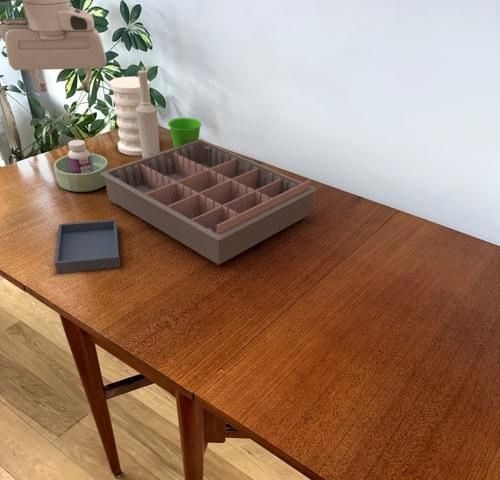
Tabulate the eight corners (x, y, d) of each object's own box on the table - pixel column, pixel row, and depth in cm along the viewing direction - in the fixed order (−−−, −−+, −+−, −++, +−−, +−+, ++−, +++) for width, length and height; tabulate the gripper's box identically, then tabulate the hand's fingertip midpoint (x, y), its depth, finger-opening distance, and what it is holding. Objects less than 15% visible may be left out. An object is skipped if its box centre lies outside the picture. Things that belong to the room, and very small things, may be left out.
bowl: (56, 195, 116) (51, 176, 112) (59, 172, 125) (55, 154, 122) (111, 191, 118) (108, 172, 115) (110, 169, 128) (107, 151, 124)
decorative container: (110, 147, 139) (99, 81, 126) (140, 137, 145) (132, 73, 133) (135, 158, 133) (126, 91, 121) (165, 148, 140) (159, 82, 128)
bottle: (157, 178, 125) (146, 75, 108) (140, 174, 126) (127, 72, 109) (165, 170, 129) (157, 70, 112) (149, 167, 130) (137, 67, 113)
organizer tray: (201, 167, 131) (200, 131, 124) (313, 219, 112) (319, 180, 105) (105, 204, 114) (97, 164, 107) (218, 273, 94) (218, 230, 88)
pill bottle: (87, 186, 119) (79, 148, 112) (69, 182, 120) (60, 144, 113) (99, 177, 123) (92, 140, 116) (81, 173, 124) (74, 137, 117)
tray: (57, 273, 92) (54, 263, 91) (61, 233, 103) (58, 223, 101) (120, 267, 95) (118, 257, 93) (117, 229, 105) (116, 219, 104)
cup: (207, 159, 135) (206, 120, 128) (195, 171, 129) (194, 131, 121) (178, 154, 137) (175, 115, 129) (165, 166, 131) (162, 126, 123)
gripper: (-8, 21, 92) (14, 96, 101) (99, 20, 96) (110, 92, 105) (-3, 15, 96) (18, 87, 106) (99, 14, 100) (110, 84, 110)
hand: (65, 90), depth 106 cm, fingers open, 8 cm apart
